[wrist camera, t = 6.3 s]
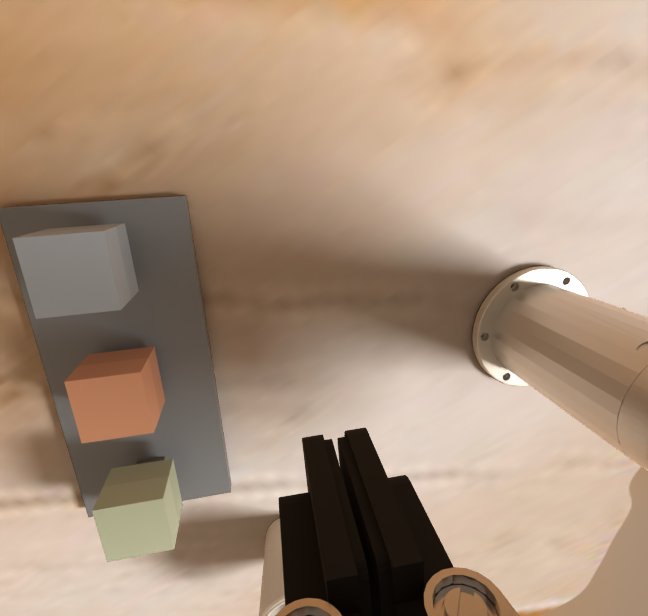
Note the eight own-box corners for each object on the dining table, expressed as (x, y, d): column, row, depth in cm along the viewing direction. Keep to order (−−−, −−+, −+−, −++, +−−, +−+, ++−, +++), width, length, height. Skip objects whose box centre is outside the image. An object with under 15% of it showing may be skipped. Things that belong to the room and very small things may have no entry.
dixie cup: (279, 576, 46) (287, 678, 37) (237, 530, 43) (235, 628, 34) (343, 538, 46) (368, 630, 37) (305, 489, 43) (322, 576, 34)
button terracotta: (154, 346, 33) (140, 372, 29) (165, 400, 35) (154, 432, 31) (88, 354, 33) (64, 381, 28) (102, 409, 34) (81, 443, 30)
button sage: (173, 458, 35) (163, 498, 31) (182, 504, 37) (174, 549, 33) (111, 468, 35) (91, 510, 30) (123, 515, 36) (107, 562, 32)
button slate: (124, 223, 29) (103, 231, 25) (138, 290, 31) (121, 310, 26) (48, 228, 28) (12, 238, 24) (66, 298, 30) (35, 318, 26)
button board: (186, 195, 33) (180, 197, 29) (231, 483, 41) (230, 509, 38) (5, 207, 31) (-23, 210, 27) (92, 507, 39) (79, 536, 36)
